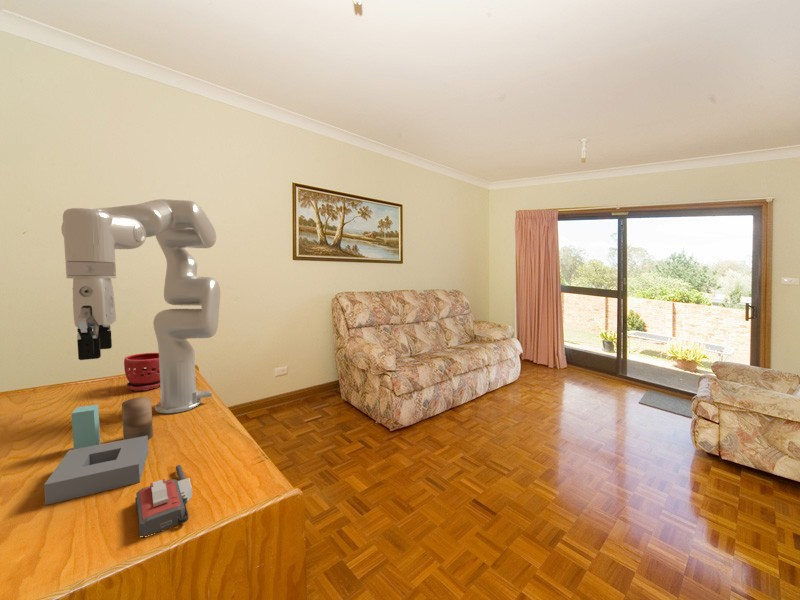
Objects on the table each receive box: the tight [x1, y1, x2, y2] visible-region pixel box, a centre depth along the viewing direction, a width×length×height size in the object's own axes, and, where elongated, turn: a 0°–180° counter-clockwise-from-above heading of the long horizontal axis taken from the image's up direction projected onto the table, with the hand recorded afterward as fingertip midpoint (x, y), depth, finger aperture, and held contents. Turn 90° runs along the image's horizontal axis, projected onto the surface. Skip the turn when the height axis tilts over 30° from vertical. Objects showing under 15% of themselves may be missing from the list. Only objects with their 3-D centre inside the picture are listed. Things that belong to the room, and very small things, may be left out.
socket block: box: [43, 435, 149, 506], centre depth 72 cm, size 14×14×4 cm
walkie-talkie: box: [134, 464, 193, 537], centre depth 64 cm, size 9×4×20 cm
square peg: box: [70, 403, 101, 449], centre depth 83 cm, size 4×4×10 cm
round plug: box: [121, 396, 154, 441], centre depth 88 cm, size 6×6×10 cm
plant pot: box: [123, 352, 160, 392], centre depth 126 cm, size 13×13×12 cm
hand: (96, 353), depth 70 cm, fingers open, 9 cm apart
